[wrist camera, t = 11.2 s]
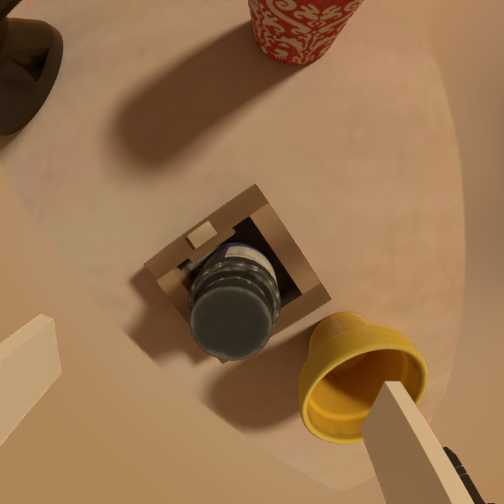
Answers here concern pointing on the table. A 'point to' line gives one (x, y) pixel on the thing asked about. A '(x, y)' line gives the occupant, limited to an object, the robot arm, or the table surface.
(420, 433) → the robot arm
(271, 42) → the mug
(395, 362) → the plant pot
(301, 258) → the wooden tray
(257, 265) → the pill bottle
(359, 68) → the table surface
